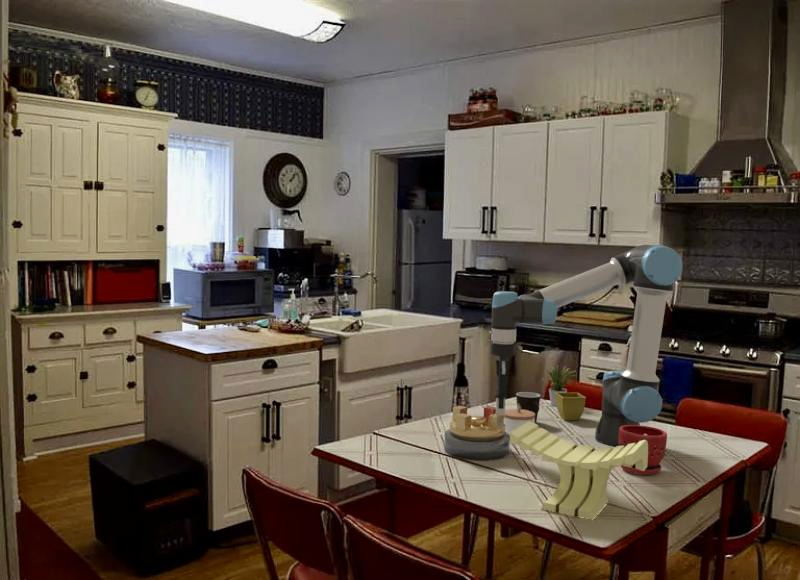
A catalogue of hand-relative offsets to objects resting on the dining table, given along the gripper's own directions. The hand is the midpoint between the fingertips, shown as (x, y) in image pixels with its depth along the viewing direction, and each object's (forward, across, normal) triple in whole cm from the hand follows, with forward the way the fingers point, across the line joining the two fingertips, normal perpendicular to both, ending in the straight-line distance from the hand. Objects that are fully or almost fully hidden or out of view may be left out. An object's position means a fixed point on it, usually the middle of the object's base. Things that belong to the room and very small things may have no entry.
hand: (500, 418), depth 225 cm
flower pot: (+11, -44, +29) cm, 54 cm away
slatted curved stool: (+11, +43, +16) cm, 47 cm away
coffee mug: (+11, -36, +13) cm, 39 cm away
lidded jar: (+11, -19, +8) cm, 23 cm away
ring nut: (+5, 0, -7) cm, 9 cm away
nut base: (+11, 0, -7) cm, 13 cm away
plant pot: (+11, +13, +40) cm, 43 cm away
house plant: (+10, -65, +28) cm, 71 cm away
